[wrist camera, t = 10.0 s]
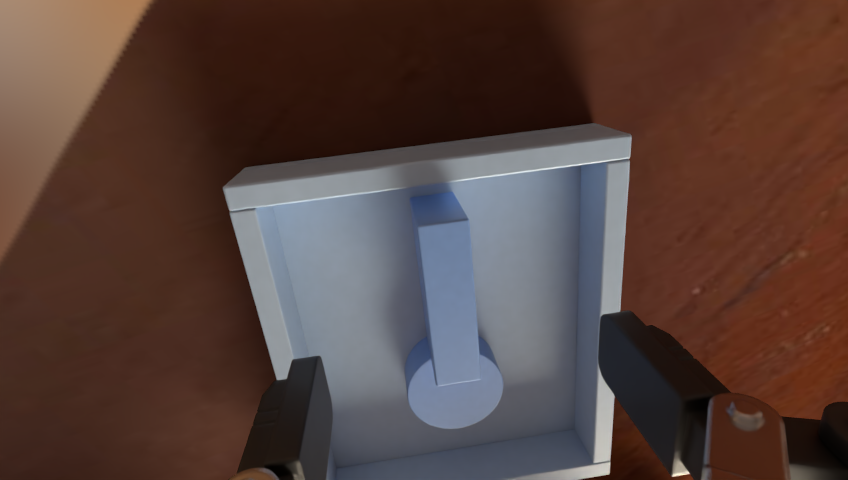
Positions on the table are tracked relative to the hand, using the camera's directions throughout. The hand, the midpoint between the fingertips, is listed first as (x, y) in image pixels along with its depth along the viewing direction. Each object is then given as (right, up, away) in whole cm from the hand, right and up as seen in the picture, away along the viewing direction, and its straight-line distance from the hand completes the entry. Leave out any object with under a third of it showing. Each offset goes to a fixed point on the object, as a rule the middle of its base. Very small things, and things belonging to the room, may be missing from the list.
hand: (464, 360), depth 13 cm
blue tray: (0, 0, +6) cm, 6 cm away
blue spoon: (0, 0, +5) cm, 5 cm away
